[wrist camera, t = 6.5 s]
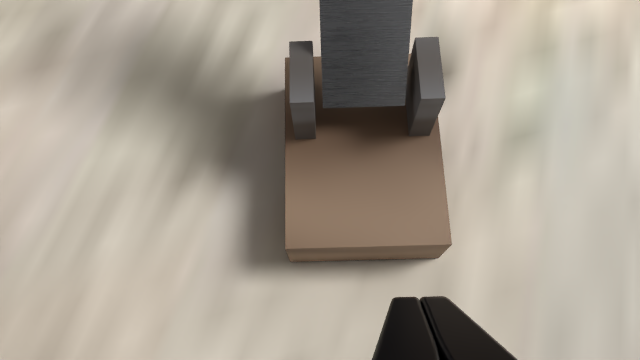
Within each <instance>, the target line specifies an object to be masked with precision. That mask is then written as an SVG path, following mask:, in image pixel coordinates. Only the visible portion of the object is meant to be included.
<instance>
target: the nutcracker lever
mask: <svg viewBox="0 0 640 360" xmlns="http://www.w3.org/2000/svg"><path fill="white" fill-rule="evenodd" d="M412 2H413V0H320V30H321V63H322V97H323V108H350V107H384V106H405V96H406V83H407V70H408V56H409V43H410V29H411V16H412Z"/></svg>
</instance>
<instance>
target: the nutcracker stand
mask: <svg viewBox="0 0 640 360" xmlns="http://www.w3.org/2000/svg"><path fill="white" fill-rule="evenodd" d="M289 51H290V58H285V250H286V252H287V255H288V257H289V260H290V262H304V261H342V260H380V259H418V258H439V257H440V256H441V255H442V254H443V253H444V252H445V251H446V250H447V249H448V248H449V247H450V246H451V245H452V242H451V233H450V223H449V214H448V205H447V196H446V187H445V178H444V168H443V159H442V150H441V141H440V132H439V123H438V114H439V112H440V110H441V107H442V105H443V103H444V100H445V90H444V82H443V73H442V64H441V56H440V47H439V39H438V37H424V38H415V41H414V45H413V49H412V53H411V54H409V56H408V70H407V83H406V96H405V106H384V107H350V108H323V97H322V63H321V57H313V44H312V41H296V42H289Z"/></svg>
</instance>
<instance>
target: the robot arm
mask: <svg viewBox="0 0 640 360" xmlns="http://www.w3.org/2000/svg"><path fill="white" fill-rule="evenodd" d="M372 360H517V359H516V358H515V357H514V356H513V355H512V354H511V353H509V352H508V351H507V350H506V349H505V348H504V347H503V346H501V345H500V344H499V343H498V342H497V341H496V340H495V339H494V338H492V337H491V336H490V335H489V334H488V333H487V332H486V331H485V330H483V329H482V328H481V327H480V326H479V325H478V324H477V323H475V322H474V321H473V320H472V319H471V318H470V317H469V316H468V315H466V314H465V313H464V312H463V311H462V310H461V309H460V308H458V307H457V306H456V305H455V304H454V303H453V302H452V301H451V300H449V299H448V298H446V297H443V296H437V297H422V298H421V299H420V300H419V299H418V298H416V297H396V298H393V299H392V301H391V304H390V307H389V310H388V313H387V316H386V319H385V322H384V325H383V328H382V331H381V334H380V337H379V340H378V343H377V346H376V349H375V352H374V355H373V358H372Z"/></svg>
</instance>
